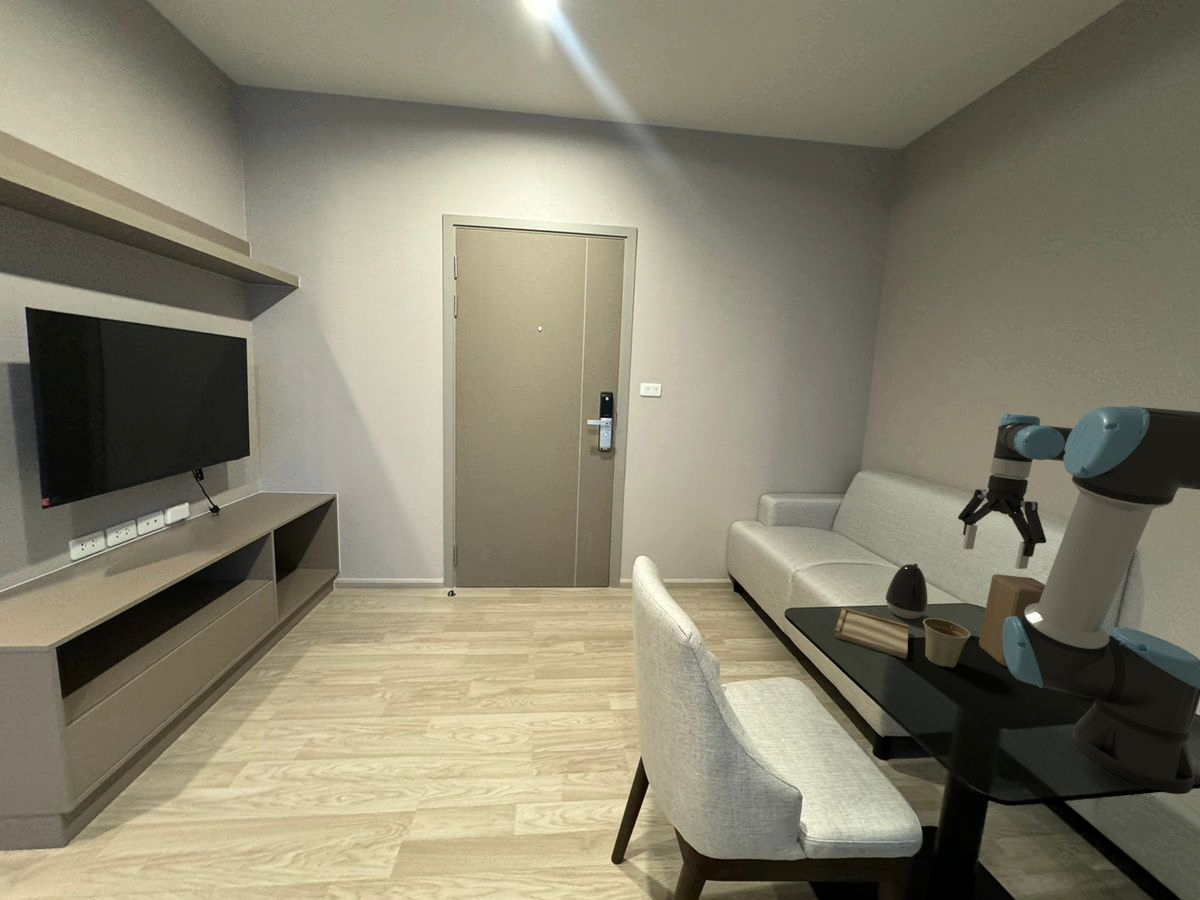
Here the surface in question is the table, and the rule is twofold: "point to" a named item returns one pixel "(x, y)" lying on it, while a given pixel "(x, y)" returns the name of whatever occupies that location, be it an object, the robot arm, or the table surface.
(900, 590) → the black egg-shaped piece
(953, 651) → the flower pot
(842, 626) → the board
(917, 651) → the table surface
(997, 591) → the wooden block
